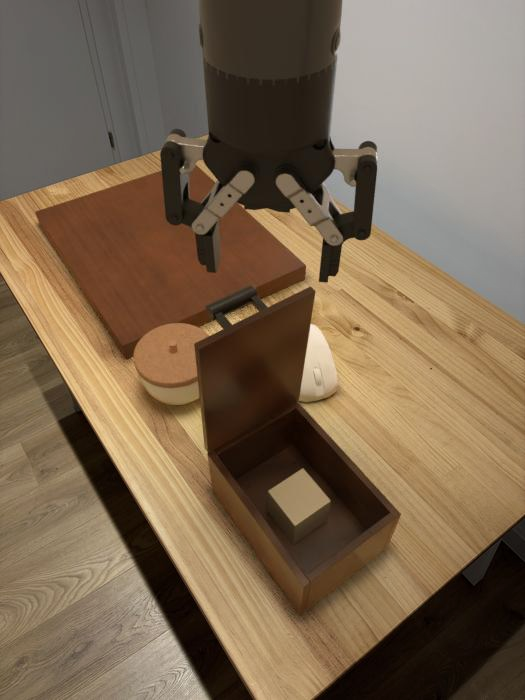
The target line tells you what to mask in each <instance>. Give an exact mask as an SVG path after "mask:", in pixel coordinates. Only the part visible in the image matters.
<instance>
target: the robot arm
mask: <svg viewBox="0 0 525 700" xmlns="http://www.w3.org/2000/svg"><path fill="white" fill-rule="evenodd" d="M342 12H343V0H198V13H199V24H198V35H199V45H200V47H201V53H202V62H203V63H202V64H203V78H204V79H203V80H204V91H205V103H206V104H205V105H206V114H207V115H206V117H207V129H208V136H207V138H206V139H201V138H194V137H188V136H187V135H188V134H186V132H185V131H184V130H182V129H180V128H173V129H172V130H171V131H170V132H169V134H168V136H167V137H166V140H165V141H164V144H163V146H162V148H161V150H160V153H159V156H160V157H159V158H160V169H161V171H162V181H163V192H164V204H165V215H166V220H167V221H168V223H170V224H171V225H175V226H176V225H180V224H181V223H182V224H184V225H187V226H189V227H191V228H192V230H193V231H194V232H195V238H196V247H197V256H198V261H199V262H200V264H201V265H206V269H207V272H209V273H217V270H218V267H219V263H220V259H221V249H220V235H219V222H218V219H222V218H223V217H224V215H225V214H226V213H227V212H228V211H229V210H230V209H231V208H232V206H233V205H234V204H235V203H236V202H237V203H238V204H240V205H241V206H243V208H244V209H245V210H249V211H258V210H265V209H268V210H270V211H275V212H277V213H291V210H295V209H296V211H297V212H299V214H300V215H301V217H302V218H303V219H304V220H305V222H306V223H307V224H308V226H310V227H314V228H315V229H316V230H317V232H318V233H319V234H320V235H321V237H322V244H321V255H320V264H319V273H318V275H319V276H318V283H324V284H325V283H326V284H327V283H329V277H336V276H337V275H338V273H339V272H340V271H339V270H340V263H341V256H342V249H343V244H344V243H345V242H346V241H348V240H351V239H355V240H357V241H366V240H368V239H369V238H370V236H371V234H372V225H373V216H374V205H375V197H376V196H375V194H376V186H377V177H378V176H377V175H378V146H377V143H375V142H374V141H371V140H366V141H363V142H361V143H360V144H359V146H358V148H336V147H335V146H334V144H333V140H332V138H331V130H332V129H331V128H332V118H333V108H334V98H335V89H336V78H337V67H338V56H339V48H340V44H341V37H342V35H341V24H342V15H343V14H342ZM199 161H203V163H204V165H205V167H206V168H207V169H208V171H210V173H211V174H212V175H213V176H214V177H215V179H216V181H215V184H214V186H213V188H212V189H211V191H210V192H209V193H208V194H207V196H206V197H205V198H204V199H203V200H202V202H201V203H199V202H196V201H193V200H191V199H190V187H189V173H191V172H192V171H193V170H194V167H195V165H197V162H199ZM334 170H337V171H339V172H341V173H342V175H343V180H344V182H345V184H347V185H348V186H350V187H351V188H353V187H354V188H355V189H354V190H355V191H354V204H353V210H352V211H347V212H344V213H343V212H342V211H341V210H340V208H339V207H338V205H337V204H336V203H335V201H334V200H333V198H332V196H331V193H330V191H329V188H328V187H327V186H326V184H325V183H324V182H325V181H326V180H328V178H329V177H330V176H331V175H332V173H334Z"/></svg>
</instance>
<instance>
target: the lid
mask: <svg viewBox="0 0 525 700" xmlns="http://www.w3.org/2000/svg"><path fill="white" fill-rule="evenodd" d="M315 297H316V290H315V289H314V287H312V286H311V285H310V286H308V287H306V288H304V289H302V290H300V291H298V292H296V293H294V294H292V295H290V296H288V297H286V298H284V299H282V300H280V301H278V302H275V303H274V304H272V305H269V306H268V305H267V304H266V303H265V302H264V301H263V300H262V299H260V298H259V297H258V294H257V291H256V289H255V288H254V286H252V285H249V286H246V287H244V288H242V289H240V290H238V291H236V292H234V293H231V294H229V295H227V296H225V297H223V298H221V299H219V300H216V301H214V302H212V303H210V304H208V305H206V307H205V308H206V312H207V315H208V316H209V318H210V319H211V320H212V321H211V322H214V321H216V322H217V323H218V325H219V326H220V327H221V328H222V329H221V330H219V331H216V332H215V333H212V334H211V335H209V336H208V337H206V338H204V339H202V340H200V341H198V342H196V343H195V344H194V347H195V357H196V367H197V377H198V387H199V405H200V406H199V407H200V416H201V426H202V434H203V436H202V437H203V444H204V450H205V451H206V452H207V453H210V452H211V451H213V450H215V449H216V448H218V447H220V446H222V445H223V444H225V443H227V442H228V441H230V440H232V439H234V438H235V437H237V436H239V435H240V434H242V433H244V432H245V431H247V430H249V429H251V428H252V427H254V426H256V425H257V424H259V423H261V422H263V421H264V420H266V419H268V418H269V417H271V416H273V415H275V414H276V413H278V412H280V411H281V410H283V409H285V408H286V407H288V406H290V405H292V404H293V403H295V402H297V401H298V400H299V396H300V390H301V383H302V377H303V370H304V364H305V357H306V351H307V344H308V338H309V331H310V325H311V324H312V317H313V311H314V306H315V305H314V304H315V299H316V298H315ZM249 303H251V305H252V306H253V307H254V309H256V311H258V312H255V313H253V314H251V315H249V316H247V317H245V318H243V319H241V320H238V321H237V322H235V323H233V324H232V323H231V321H230V319H228V318H227V315H229V314H231V313H233V312H235V311H238V310H239V309H241V307H242V308H244V307H246V306H248V305H250V304H249ZM247 304H248V305H247ZM245 305H246V306H245ZM243 306H244V307H243ZM298 402H299V401H298Z"/></svg>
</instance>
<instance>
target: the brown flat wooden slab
mask: <svg viewBox="0 0 525 700" xmlns="http://www.w3.org/2000/svg"><path fill="white" fill-rule="evenodd" d="M215 183H216V181H215V180H213V179H212V178H211V177H210V176H209V175H208V174H207V173H206V172H205V171H204V170H203V169H202V168H200V167H199V166H198V165H197V164H196V165H195V167H194V170H193V171H192V172H191V173H189V187H190V199H191V200H193V201H196V202H199V203H201V202H202V200H203V199H204V198H205V197H206V196H207V194H208V193H209V192H210V191H211V189H212V188H213V186H214V184H215ZM34 213H35V216H36V218H37V219H36V220H37V221H38V224H39V226H40V228H41V229H42V231H43V232H44V234H45V235H46V237H47V239H48V240H49V241H50V244H51V245H52V247H53V248H54V250H55V251H56V252H57V254H58V256H59V257H60V259H61V261H62V262H63V263H64V266H65V267H66V268H67V269H68V271H69V273H70V274H71V276H72V278H73V279H74V281H75V282H76V283H77V285H78V286H79V288H80V290H81V291H82V293H83V295H84V296H85V298H86V300H87V301H88V302H89V304H90V305H91V307H92V309H93V310H94V312H95V314H96V315H97V316H98V318H99V319H100V321H101V323H102V324H103V326H104V328H105V329H106V330H107V332H108V333H109V335H110V337H111V338H112V340H113V341H114V342H115V344H116V346H117V348H118V349H119V350H120V352H121V353H122V355H123V357H124V358H125V360H128V359H131V358H133V355H134V350H135V347H136V345H137V343H138V342H139V341H140V339H141V338H142V337H143V336H144V335H145V334H147V333H148V332H150V331H151V330H153V329H155V328H157V327H160V326H163V325H166V324H172V323H184V324H190V325H193V326H196V327H198V328H200V327H201V326H204V325H207V324H209V323H210V322H213V321H212V320H211V319H210V318H209V316H208V315H207V312H206V308H205V307H206V305H208V304H210V303H212V302H214V301H216V300H219V299H221V298H223V297H225V296H227V295H229V294H231V293H234V292H236V291H238V290H240V289H242V288H244V287H246V286H249V285H252V286H254V288H255V289H256V291H257V294H258V297H259V298H260V299H261V300H262V299H264V298H266V297H268V296H270V295H274V294H275V293H277V292H279V291H281V290H284V289H286V288H288V287H291V286H293V285H295V284H297V283H300V282H302V281H304V280H306V276H307V275H306V273H307V265H306V263H304V262H303V261H302V260H301V259H300V258H299V257H298V256H297V255H296V254H294V253H293V251H291V250H290V249H289V248H288V247H287V246H286V245H284V244H283V243H282V242H281V241H280V240H279V239H278V238H277V237H276V236H275V235H274V234H273V233H272V232H271V231H269V230H268V229H267V228H266V227H265V226H264V225H263V224H262V223H261V222H260V221H259V220H257V219H256V218H255V217H254V216H253V215H252V214H251V213H250V212H248V211H247V209H244V206H243V205H241V204H239V203H237V202H236V203H235V204H234V205H233V206H232V208H231V209H230V210H229V211H228V212H227V213H226V214H225V215H224V217H223V218H222V219H218V222H219V235H220V249H221V259H220V263H219V267H218V270H217V273H209V272H207V269H206V265H201V264H200V262H199V261H198V256H197V247H196V238H195V232H194V231H193V230H192V228H191V227H189V226H187V225H184V224H182V223H181V224H180V225H176V226H175V225H171V224H170V223H168V221H167V220H166V215H165V204H164V192H163V181H162V170H159V171H155V172H153V173H149V174H146V175H144V176H140V177H138V178H135V179H131V180H128V181H125V182H122V183H119V184H116V185H113V186H110V187H107V188H103V189H101V190H98V191H93V192H91V193H88V194H85V195H82V196H79V197H76V198H73V199H70V200H67V201H64V202H60V203H57V204H54V205H52V206H51V205H50V206H47V207H45V208H41V209H39V210H36V211H35V212H34ZM249 305H252V303H249V304H247V305H245V306H243V307H241V308H244V307H246V306H249ZM241 308H240V309H241Z"/></svg>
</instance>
